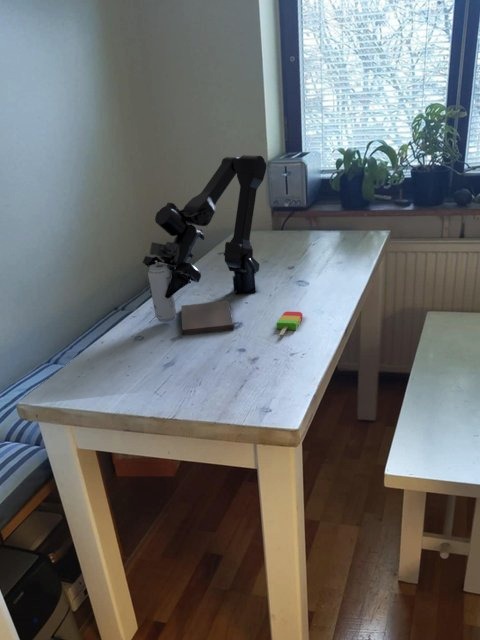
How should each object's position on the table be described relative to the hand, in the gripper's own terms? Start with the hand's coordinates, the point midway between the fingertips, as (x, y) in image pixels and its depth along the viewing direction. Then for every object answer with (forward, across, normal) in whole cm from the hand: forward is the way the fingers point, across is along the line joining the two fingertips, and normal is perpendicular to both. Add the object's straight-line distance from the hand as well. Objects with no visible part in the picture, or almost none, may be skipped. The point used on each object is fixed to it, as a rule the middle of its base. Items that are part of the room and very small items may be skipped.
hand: (158, 295), depth 168 cm
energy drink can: (+4, 0, +6) cm, 7 cm away
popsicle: (-6, +32, +18) cm, 37 cm away
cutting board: (-1, +8, +13) cm, 15 cm away
